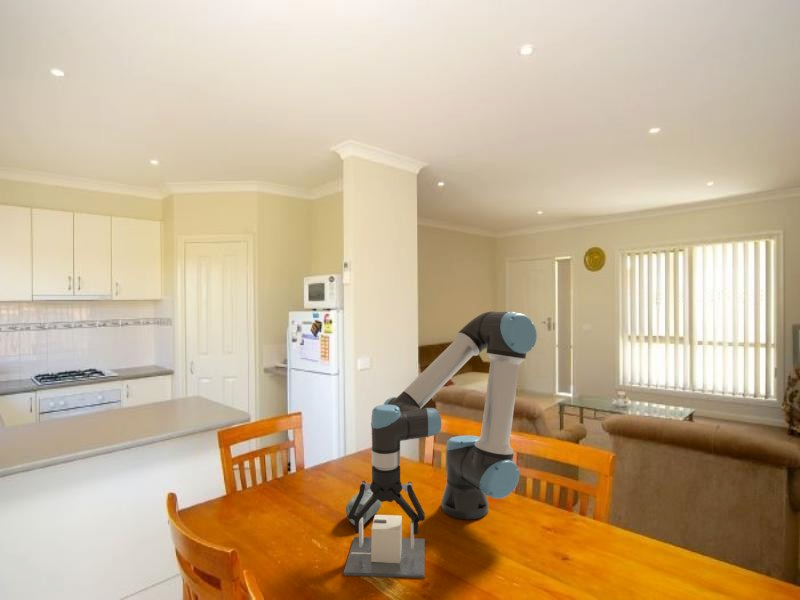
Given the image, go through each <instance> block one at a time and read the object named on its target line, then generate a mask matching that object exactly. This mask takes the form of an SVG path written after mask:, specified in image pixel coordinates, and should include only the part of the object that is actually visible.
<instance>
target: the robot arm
mask: <svg viewBox="0 0 800 600" xmlns="http://www.w3.org/2000/svg"><path fill="white" fill-rule="evenodd" d="M537 337H538V335H537V328H536V326H535V323H534V322H532V319H531V318H530V317H529V316H527V315H526V314H524V313H520V312H515V311H486V312H483V313H481V314H479V315H477V316H476V317H474V318H473V319H472V320H470V321H469V322H468V323H466V324H465V326H463V327H462V328H461V329H460V330H459V331H458V332H457V333H456V335H455V340H453V342H452V343H450V344H449V346H447V347H446V349H444V351H442V352H441V353H440V354H439V355H438V356H437V357H436V358H435V359H434V361H432V362H431V363H430V364H429V365H428V366H427V367H426V368H425V369H424V370H423V371H422V372H421V373H420V374H419V375H418V376H417V377H416V378H415V379H414V380H413V381H412V382H411V383H410V384H409V385H408V386H407V387H405V388H404V390H403V391H402V392H401V393H399V395H398V396H392V397H389V398H387V399H386V400H385V401H384V403H383V404H380V405H376V406H375V407H374V408H373V409H372V411H371V422H370V428H371V465H372V466H371V482H370V483H368V482H366V481H365V480H362V481H361V482H360V486H359V492H358V493H359V494H358V496H357V498H356V500H355V502H354V504H353V506H352V508H351V510H350V512H349V515H348V517H347V519H348V520H349V519H353V520H354V521H355V525H354V533H355V534H358V537H359V547H362V545H363V537H364V525H363V515H364V514H365V513H366V512H367V511H368V510H369V508H370V507H371V506H372V505H373V504H374V503H375V502H376V501H377V500H379V501H380V502H381V503H383V502H387V503H392V502H394V501H395V503H396V504H397V505H399V507H400V508H401V509H402V510H403V511H404V513H405V514H406V515H407V516H408V517H409V519H410V538H411V549H414V538H415V536H416V535H418V534H419V522H421V521H422V522H424V521H425V519H426V516H425V515H426V514H425V512H424V509H423V507H422V505H421V503H420V501H419V499H418V497H417V495H416V493H415V491H414V488H413V482H412V481H408V482H407V483H402V481H401V465H400V464H401V442H402V441H403V442H404V441H408V440H409V441H410V440H416V439H422V438H430V437H434V436H437V435H438V434H439V433H441V429H442V418H441V415H440V412H439V411H438V409H436V407H435V408H434V407H425V408H423V407H424V406H425V405H426V404H427V403H428V402H429V401H430V400H431V399H432V398H433V397H434V396H435V395H436V394H437V393H438V392H439V391H440V390H441V389H442V388H443V387H444V386H445V385H446V383H447V382H448V381H450V379H452V378H453V376H455V375H456V373H457V372H459V371H460V369H462V368H463V366H464V365H465V364H467V362H469V360H470V359H471V358H472V357H473V356H475V357H477V356H479V354H481V352H483V351H485V350H486V352H485V353H486V355H487V357H488V359H490V362H489V369H488V370H489V371H488V378H487V383H486V385H487V386H486V392H485V393H486V394H485V400H484V401H485V402H484V408H483V409H484V410H483V416H482V424H481V430H480V431H481V432H480V436H478V435H470V434H469V435H456V436H452V437H449V439H447V441H446V448H445V452H446V484H445V489H444V492H443V495H442V497H441V510H442V512H444V513H445V514H446V516H447V515H448V516H450V517H452V518H455V519H460V520H476V519H480V518H483V517H485V516H486V515H487V514H488V513H489V501H488V500H489V499H488V497H487V496H489V497H490V498H492V499H496V500H500V499H505V498H506V497H508V496H509V495H511V493H513V492H514V491H515V490H516V488H517V486H518V484H519V481H520V469H519V468H518V466H517V464H516V463H515V461H514V455H515V454H514V449H513V448H512V446H511V444H510V442H511V434H512V428H513V427H512V426H513V418H514V410H515V403H516V395H517V387H518V380H519V370H520V365H521V363H523V362H524V361H526V359H527V358H526V357H527V353H528V352H531V351H532V349H533V348H534V346H535V345H536V341H537ZM368 489H371V491H372V492H373V494H372V496H371V497H370V498H369V500H368V501H367V502H366V503H365V504H364V506H363V507H362V508H361V509H360V510H359V511H358V513H355V511H356V509H357V507H358V505H359V503H360V501H361V499H362V497H363V495H364V492H367V491H368ZM402 490H403V491H404V492H405V493H406V494H407V495H408V498H409V500H410V502H411V505H412V506H413V508H412V507H411V505H410V504H409V503H408V502H407V501H406V500H405V498H404V496H403V495H402V493H401V492H402ZM415 511H416V512H415Z"/></svg>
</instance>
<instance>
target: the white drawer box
mask: <svg viewBox="0 0 800 600" xmlns="http://www.w3.org/2000/svg"><path fill="white" fill-rule="evenodd" d="M373 516H374V517H373V520H372V521H373V522H372V525H371V536H370V537H371V562H383V563H400V558H401V548H402V538H403V536H402V534H403V528H402V527H403V516H402V515H393V514H374V515H373Z"/></svg>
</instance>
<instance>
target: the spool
mask: <svg viewBox="0 0 800 600" xmlns="http://www.w3.org/2000/svg"><path fill="white" fill-rule="evenodd" d="M358 494H359V492H357V493H356V494H354V496H352V498H351V499H350V500H349V501H348V502H347V503H346V506H345V514H346V518H348V515H349V512H350V510H351V508H352V506H353V504H354V502H355V500H356V498H357V496H358ZM372 494H373V492H372V491H371V489H368V491H367V492H364V495H363V497H362V499H361V501H360V503H359V505H358V507H357V509H356V511H355V513H358V511H359V510H360V509H361V508H362V507H363V506H364V504H365V503H366V502H367V501H368V500H369V498H370V497H371V496H372ZM381 507H382V502H380V501H379V500H377V501H376V502H375V503H374V504H373V505H372V506H371V507H370V508H369V510H368V511H367V512H366V513H365V514H364V515H363V526H364V525H365V524H366V523H368V521H369V520H371V518H372V517H373V516H375V515H376V514H377V513H378V512H379V510H380V509H381ZM348 520H349V521H350V523H351V524H352V525H353V526H355V521H354V520H353V519H348Z"/></svg>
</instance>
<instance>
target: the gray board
mask: <svg viewBox="0 0 800 600" xmlns="http://www.w3.org/2000/svg"><path fill="white" fill-rule="evenodd" d="M425 542H426V539H425V538H415V537H414V549H411V537H402V548H401V558H400V563H383V562H371V536H363V545H362V547H359V536H354V537H353V540H352V544H351V547H350V549H349V553H348V557H347V559H346V563H345V566H344V570H343V576H345V577H346V576H349V577H351V576H352V577H356V576H357V577H377V578H378V577H379V578H380V577H382V578H389V577H390V578H411V579H412V578H414V579H417V578H418V579H425V570H426V569H425V564H426V562H425V561H426V560H425V557H426V556H425V555H426V554H425V553H426V552H425V548H426V547H425V545H426V543H425Z"/></svg>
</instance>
